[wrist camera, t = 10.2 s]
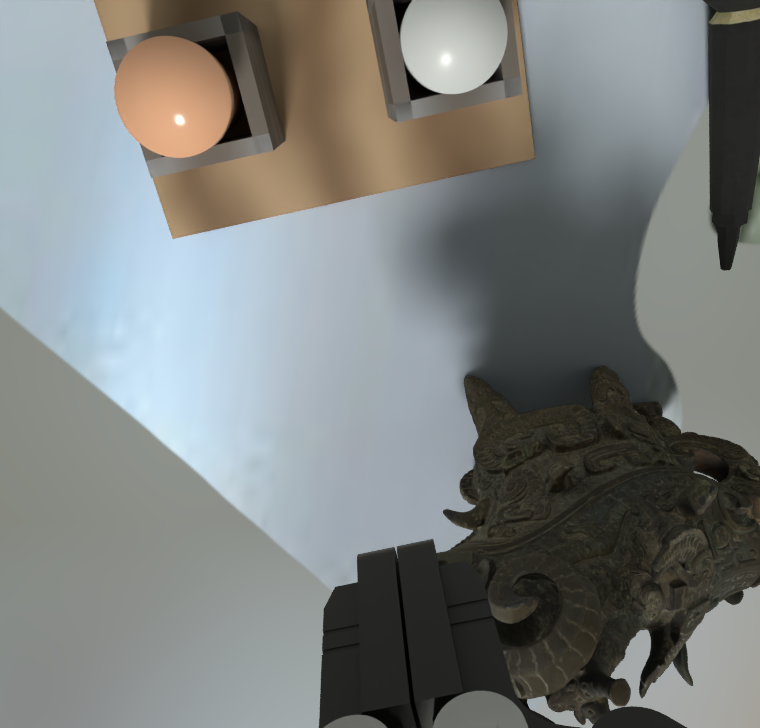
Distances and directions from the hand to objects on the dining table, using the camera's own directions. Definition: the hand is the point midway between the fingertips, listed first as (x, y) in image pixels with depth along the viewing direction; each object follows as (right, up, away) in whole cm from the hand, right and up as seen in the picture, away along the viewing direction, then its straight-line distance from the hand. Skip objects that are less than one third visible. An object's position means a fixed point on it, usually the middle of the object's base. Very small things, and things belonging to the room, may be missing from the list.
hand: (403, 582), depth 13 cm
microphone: (+19, +20, +27) cm, 39 cm away
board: (-4, +21, +25) cm, 33 cm away
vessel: (+10, 0, +34) cm, 36 cm away
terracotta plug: (-9, +18, +21) cm, 30 cm away
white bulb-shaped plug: (+2, +21, +23) cm, 32 cm away
